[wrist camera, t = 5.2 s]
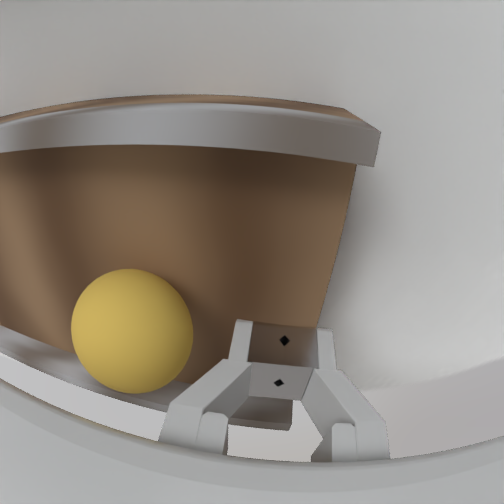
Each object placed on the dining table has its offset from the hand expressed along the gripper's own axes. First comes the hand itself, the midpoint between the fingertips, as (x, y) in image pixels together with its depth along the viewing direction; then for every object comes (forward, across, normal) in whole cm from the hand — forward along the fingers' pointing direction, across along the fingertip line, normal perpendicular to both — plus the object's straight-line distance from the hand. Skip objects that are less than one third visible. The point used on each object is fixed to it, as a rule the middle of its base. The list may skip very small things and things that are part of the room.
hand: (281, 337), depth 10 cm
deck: (+4, +13, 0) cm, 13 cm away
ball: (-1, +5, 0) cm, 5 cm away
